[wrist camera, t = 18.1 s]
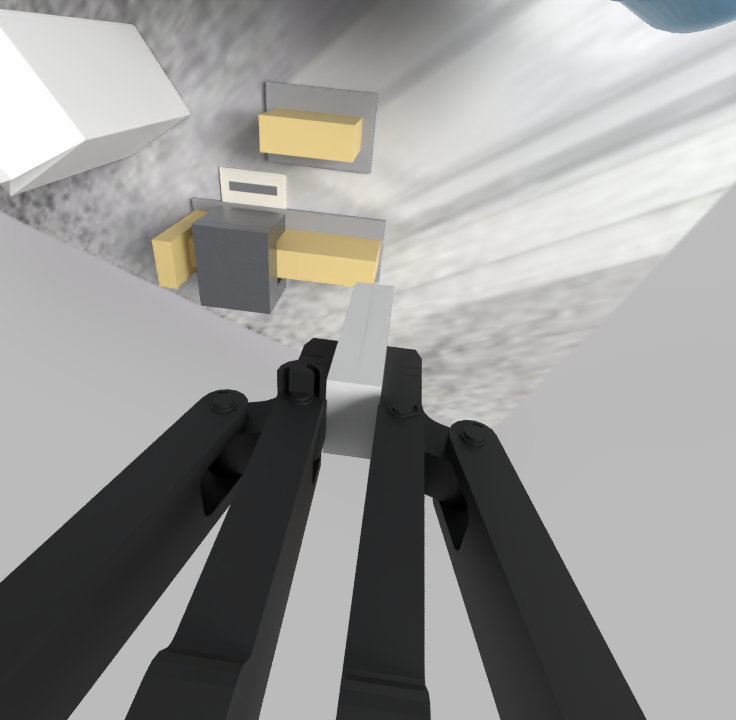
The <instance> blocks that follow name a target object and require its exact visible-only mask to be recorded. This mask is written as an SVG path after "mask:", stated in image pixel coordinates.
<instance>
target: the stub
mask: <svg viewBox="0 0 736 720" xmlns="http://www.w3.org/2000/svg"><path fill="white" fill-rule="evenodd" d="M377 96H378V94H377V93H368V92H359V91H350V90H341V89H331V88H322V87H313V86H304V85H295V84H286V83H277V82H268V81H267V82H266V112H265V113H262V114H259V140H260V152H265V153H268V162H276V163H284V164H293V165H302V166H310V167H319V168H328V169H336V170H345V171H353V172H362V173H371V164H372V153H373V141H374V130H375V119H376V107H377Z"/></svg>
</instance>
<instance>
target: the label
mask: <svg viewBox="0 0 736 720" xmlns="http://www.w3.org/2000/svg"><path fill="white" fill-rule="evenodd" d="M219 169H220V181H221V193H222V201H223V202H231V203H240V204H248V205H257V206H265V207H273V208H282V209H286V208H287V206H286V174H278V173H270V172H261V171H253V170H244V169H236V168H227V167H219Z"/></svg>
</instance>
